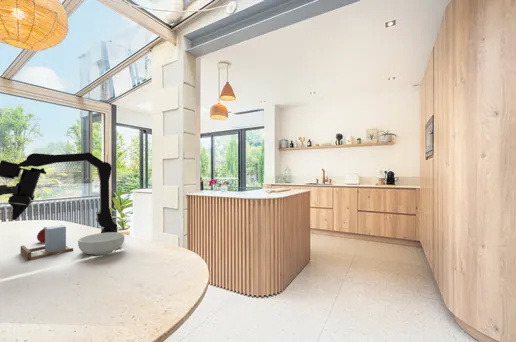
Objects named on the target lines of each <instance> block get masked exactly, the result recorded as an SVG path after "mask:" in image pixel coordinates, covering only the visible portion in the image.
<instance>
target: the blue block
mask: <svg viewBox="0 0 516 342" xmlns="http://www.w3.org/2000/svg"><path fill="white" fill-rule="evenodd" d="M44 227H45V242H44V246H45V249H44V250H45V251H46V252H47V253H51V252H56V251H60V250H65V249H66V246H67V226H66V225H63V224H61V225H55V226H44Z"/></svg>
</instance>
